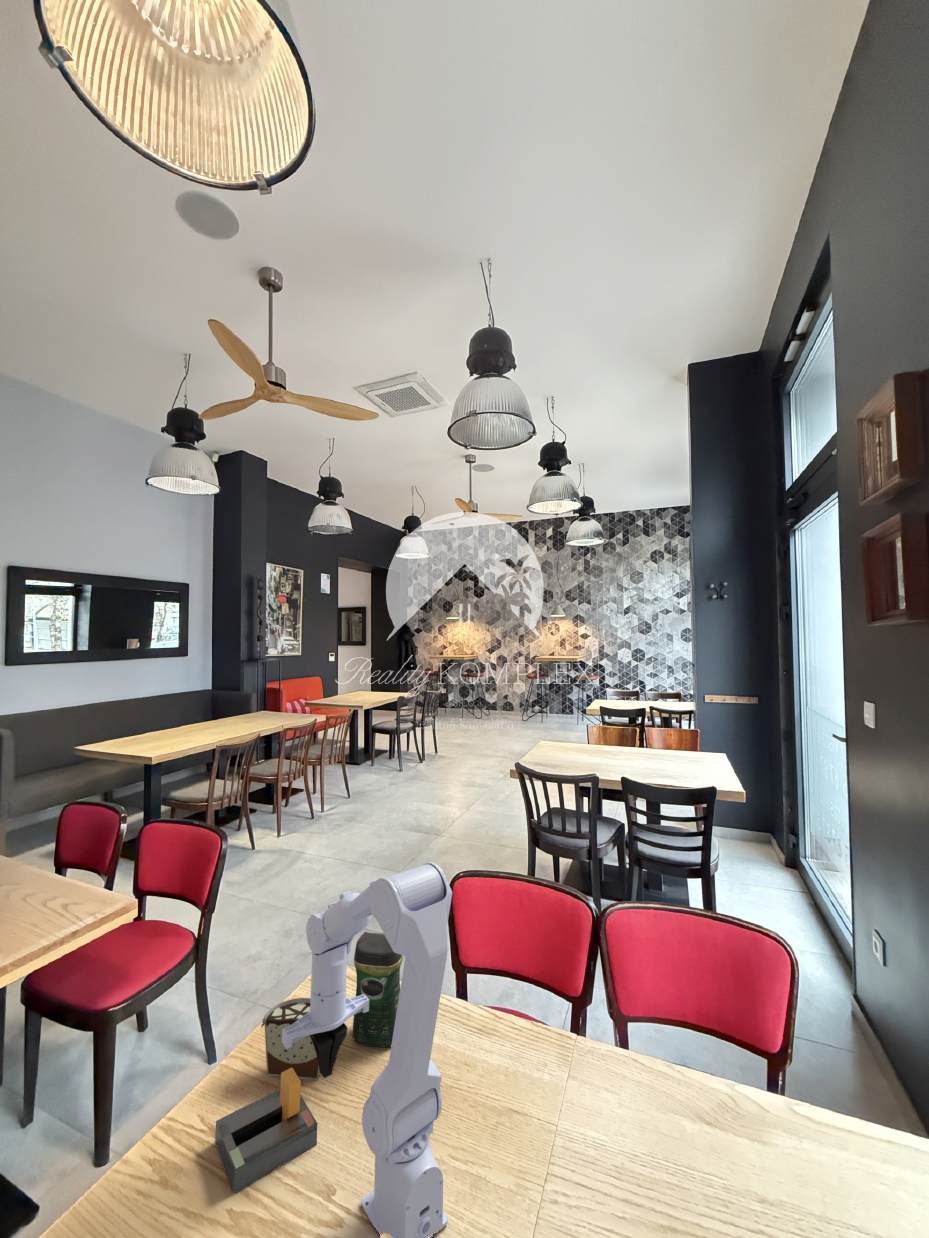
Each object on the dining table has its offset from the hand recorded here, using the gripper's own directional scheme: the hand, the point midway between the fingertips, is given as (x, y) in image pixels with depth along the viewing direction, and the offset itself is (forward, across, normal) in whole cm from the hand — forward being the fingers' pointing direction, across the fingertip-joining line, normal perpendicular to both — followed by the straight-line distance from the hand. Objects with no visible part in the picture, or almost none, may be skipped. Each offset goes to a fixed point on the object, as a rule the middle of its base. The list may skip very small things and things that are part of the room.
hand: (325, 1072), depth 85 cm
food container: (+6, 0, -12) cm, 13 cm away
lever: (+6, +6, 0) cm, 8 cm away
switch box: (+6, +10, 0) cm, 11 cm away
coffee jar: (+6, -16, -10) cm, 19 cm away
